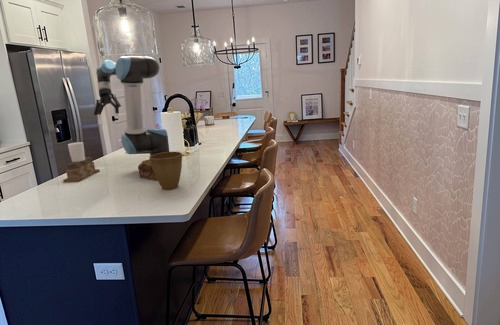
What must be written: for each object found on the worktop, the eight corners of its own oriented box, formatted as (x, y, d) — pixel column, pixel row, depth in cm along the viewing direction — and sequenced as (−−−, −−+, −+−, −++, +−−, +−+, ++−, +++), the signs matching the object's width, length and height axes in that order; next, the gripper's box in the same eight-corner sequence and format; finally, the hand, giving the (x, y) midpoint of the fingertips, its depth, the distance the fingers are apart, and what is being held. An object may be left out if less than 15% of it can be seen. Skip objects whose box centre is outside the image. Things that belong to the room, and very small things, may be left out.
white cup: (74, 159, 193) (71, 142, 191) (88, 158, 194) (85, 141, 191) (68, 162, 185) (65, 145, 183) (83, 161, 186) (79, 144, 184)
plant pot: (151, 186, 162) (147, 154, 159) (182, 181, 168) (178, 150, 164) (156, 194, 149) (151, 160, 145) (188, 188, 154) (185, 155, 151)
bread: (176, 177, 178) (174, 158, 175) (159, 182, 170) (157, 163, 167) (154, 173, 189) (152, 156, 187) (138, 178, 181) (135, 160, 179)
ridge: (85, 172, 203) (82, 156, 201) (99, 171, 202) (97, 156, 200) (63, 182, 181) (60, 165, 179) (79, 181, 181) (76, 164, 178)
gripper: (124, 85, 212) (128, 117, 208) (95, 97, 221) (98, 128, 217) (115, 82, 205) (119, 114, 201) (85, 94, 214) (89, 125, 210)
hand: (108, 121), depth 209 cm, fingers open, 13 cm apart
